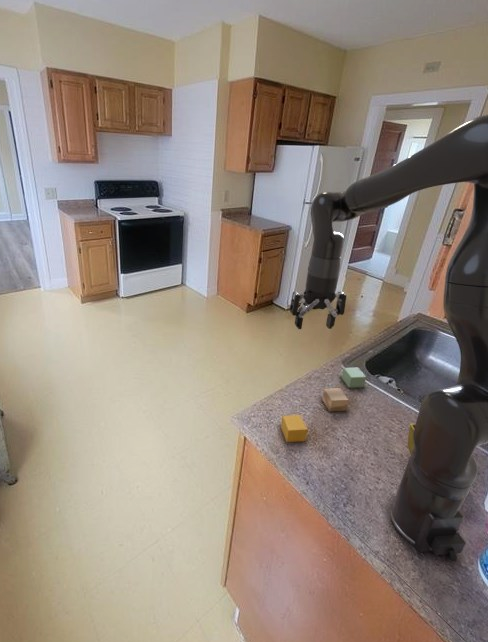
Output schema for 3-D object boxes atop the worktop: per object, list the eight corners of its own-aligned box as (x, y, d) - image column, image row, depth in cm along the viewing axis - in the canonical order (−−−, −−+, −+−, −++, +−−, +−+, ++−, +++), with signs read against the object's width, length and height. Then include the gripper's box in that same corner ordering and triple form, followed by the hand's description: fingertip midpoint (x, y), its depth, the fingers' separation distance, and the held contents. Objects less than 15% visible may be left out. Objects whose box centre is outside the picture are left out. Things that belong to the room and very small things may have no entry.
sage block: (363, 387, 103) (366, 376, 101) (348, 387, 102) (351, 377, 101) (355, 377, 108) (357, 367, 106) (341, 377, 107) (343, 367, 106)
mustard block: (305, 441, 83) (307, 429, 81) (286, 442, 82) (288, 430, 81) (298, 425, 88) (300, 414, 86) (280, 426, 87) (282, 415, 86)
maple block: (345, 410, 93) (348, 399, 92) (329, 411, 93) (331, 400, 91) (337, 398, 98) (340, 388, 96) (321, 399, 97) (324, 388, 96)
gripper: (301, 277, 78) (293, 335, 84) (357, 277, 79) (345, 334, 85) (291, 267, 85) (284, 321, 91) (342, 267, 86) (332, 320, 92)
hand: (313, 327), depth 88 cm, fingers open, 8 cm apart
